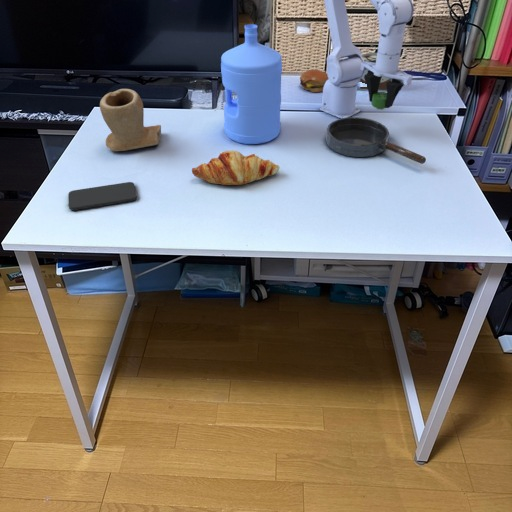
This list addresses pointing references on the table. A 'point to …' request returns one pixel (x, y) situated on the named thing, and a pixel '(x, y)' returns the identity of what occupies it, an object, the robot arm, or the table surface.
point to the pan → (356, 136)
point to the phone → (101, 196)
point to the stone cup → (127, 121)
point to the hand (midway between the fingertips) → (380, 103)
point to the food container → (370, 58)
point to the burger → (313, 80)
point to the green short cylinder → (379, 100)
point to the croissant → (235, 169)
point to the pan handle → (403, 152)
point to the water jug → (252, 90)
